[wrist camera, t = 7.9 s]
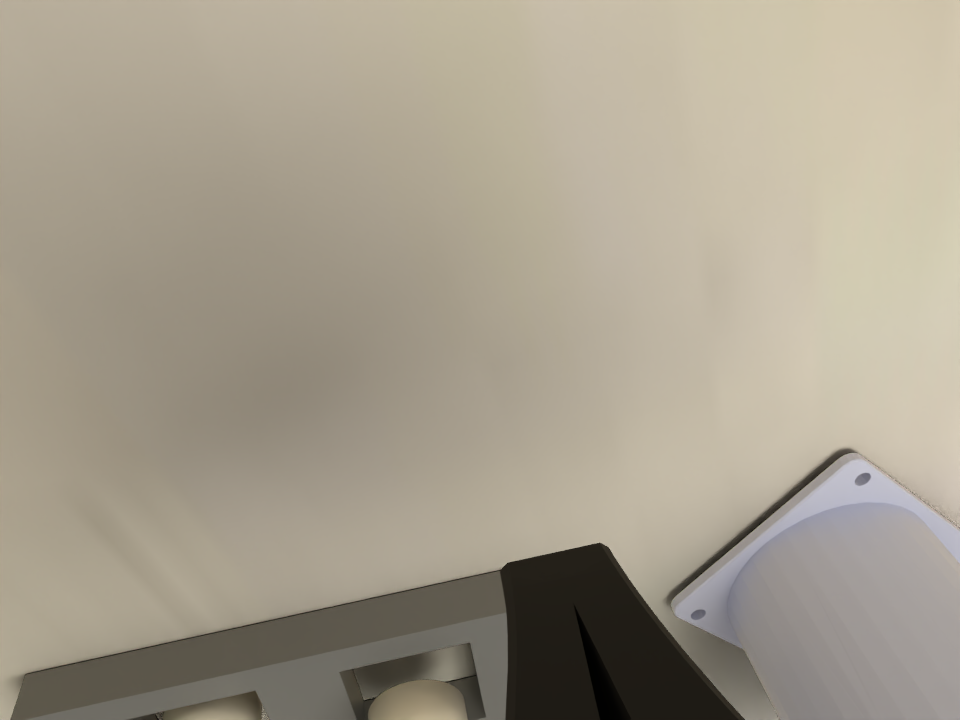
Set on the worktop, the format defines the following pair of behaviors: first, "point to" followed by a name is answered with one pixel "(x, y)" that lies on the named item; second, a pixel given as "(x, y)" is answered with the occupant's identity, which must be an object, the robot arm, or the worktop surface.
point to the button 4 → (419, 702)
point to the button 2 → (220, 709)
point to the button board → (291, 661)
